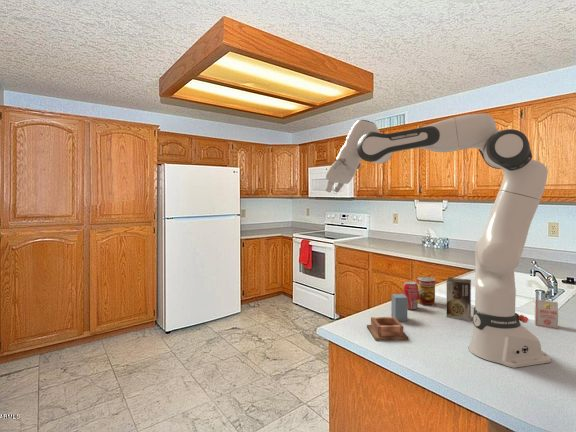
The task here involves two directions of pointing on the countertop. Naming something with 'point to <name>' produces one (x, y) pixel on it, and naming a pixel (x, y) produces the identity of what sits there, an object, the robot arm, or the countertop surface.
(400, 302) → the square peg
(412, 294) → the beverage can
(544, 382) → the countertop surface
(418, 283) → the canned food
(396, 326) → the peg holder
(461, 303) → the coffee box
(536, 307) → the beige food box
